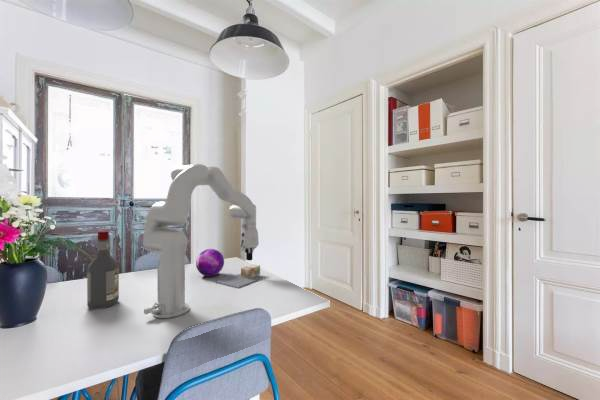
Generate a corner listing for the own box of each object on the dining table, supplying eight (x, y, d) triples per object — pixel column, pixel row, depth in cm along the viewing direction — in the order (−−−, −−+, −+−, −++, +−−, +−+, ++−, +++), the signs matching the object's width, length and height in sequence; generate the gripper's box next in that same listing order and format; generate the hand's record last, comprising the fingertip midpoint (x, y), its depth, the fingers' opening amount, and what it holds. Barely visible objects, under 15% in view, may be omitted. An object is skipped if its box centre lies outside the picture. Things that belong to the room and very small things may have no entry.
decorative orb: (229, 274, 154) (229, 248, 154) (208, 281, 141) (208, 252, 141) (212, 270, 162) (212, 245, 162) (190, 276, 149) (190, 249, 149)
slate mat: (238, 288, 130) (238, 287, 130) (215, 282, 139) (215, 281, 139) (264, 278, 147) (264, 277, 147) (243, 273, 156) (243, 272, 156)
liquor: (84, 310, 105) (84, 233, 105) (95, 301, 114) (95, 230, 113) (111, 307, 107) (111, 232, 107) (120, 299, 116) (120, 230, 116)
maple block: (247, 269, 144) (260, 265, 152) (240, 268, 146) (253, 264, 155) (247, 278, 144) (260, 274, 152) (240, 277, 146) (253, 273, 155)
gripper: (244, 228, 140) (244, 263, 140) (263, 225, 152) (263, 258, 152) (234, 227, 144) (234, 261, 144) (253, 225, 156) (253, 256, 157)
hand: (249, 259), depth 148 cm, fingers closed
